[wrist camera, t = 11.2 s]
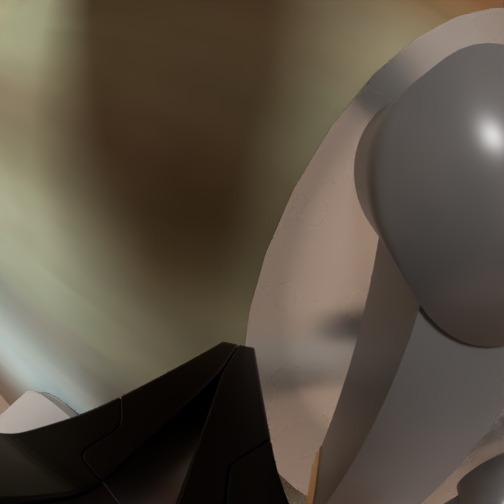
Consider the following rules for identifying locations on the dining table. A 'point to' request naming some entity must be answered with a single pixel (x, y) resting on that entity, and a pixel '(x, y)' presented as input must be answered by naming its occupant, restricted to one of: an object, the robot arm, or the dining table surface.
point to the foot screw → (425, 289)
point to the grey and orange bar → (482, 484)
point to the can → (33, 412)
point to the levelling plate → (338, 271)
